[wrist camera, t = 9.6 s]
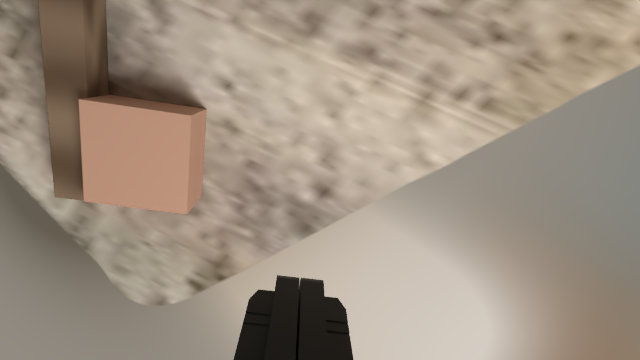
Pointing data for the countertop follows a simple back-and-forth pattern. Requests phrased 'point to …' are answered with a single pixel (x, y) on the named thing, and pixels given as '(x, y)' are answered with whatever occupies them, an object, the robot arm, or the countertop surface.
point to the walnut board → (71, 80)
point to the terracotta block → (142, 153)
